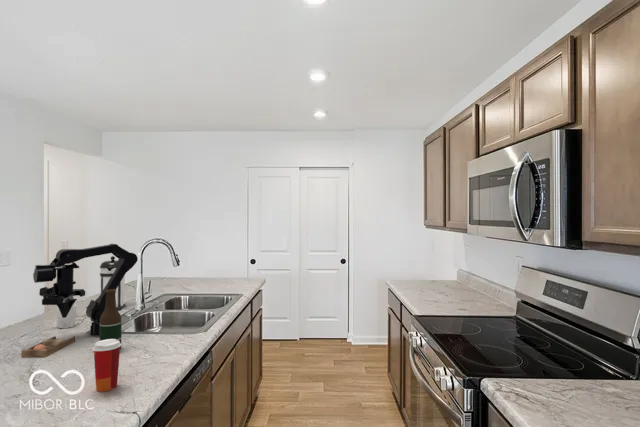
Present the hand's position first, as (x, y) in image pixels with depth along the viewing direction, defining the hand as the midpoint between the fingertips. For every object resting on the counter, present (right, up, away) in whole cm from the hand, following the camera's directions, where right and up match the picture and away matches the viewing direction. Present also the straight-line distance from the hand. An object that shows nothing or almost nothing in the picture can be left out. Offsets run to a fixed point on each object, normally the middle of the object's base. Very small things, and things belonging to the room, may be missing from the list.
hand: (64, 317), depth 154 cm
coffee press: (-13, -12, +59) cm, 61 cm away
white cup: (-15, -11, +24) cm, 31 cm away
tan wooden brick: (+1, -10, -7) cm, 12 cm away
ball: (-1, -9, -13) cm, 16 cm away
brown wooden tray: (0, -11, -8) cm, 13 cm away
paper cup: (+40, -11, -39) cm, 57 cm away
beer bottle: (+23, -11, -7) cm, 27 cm away
